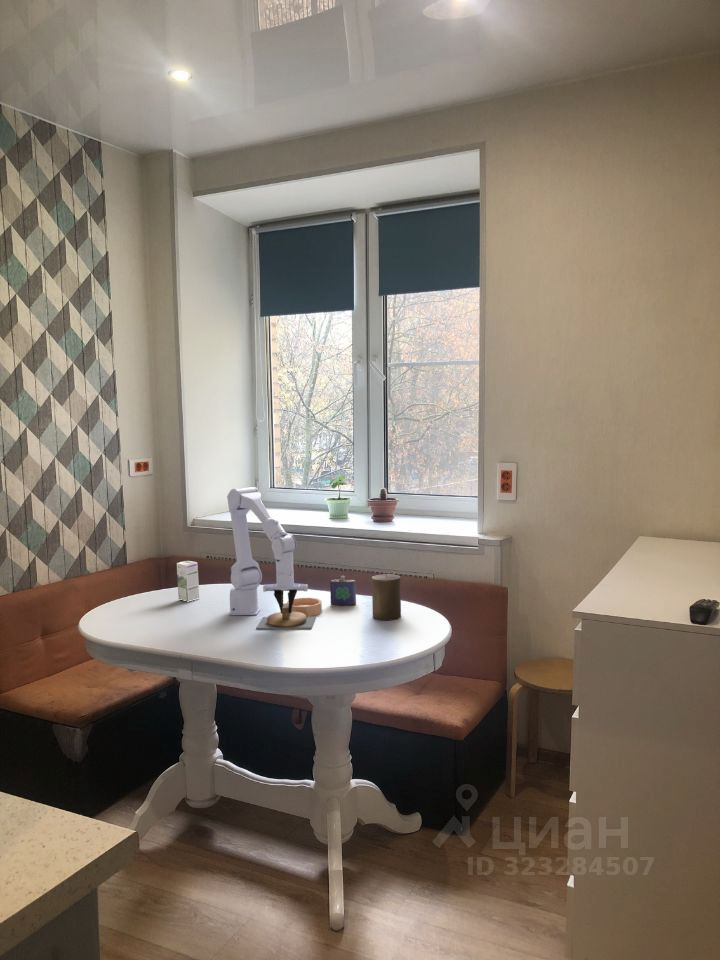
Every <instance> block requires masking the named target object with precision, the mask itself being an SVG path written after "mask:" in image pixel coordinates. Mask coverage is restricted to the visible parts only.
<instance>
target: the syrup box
mask: <svg viewBox="0 0 720 960" xmlns="http://www.w3.org/2000/svg"><path fill="white" fill-rule="evenodd" d="M198 567H199V565H198V562H197V561H191V560H184V561H183V560H182V561H180V562H176V574H177V575H176V576H177V593H178V594H177V595H178V600H179V599H182V600H186V601H189V600H193V599H197V598H199V599H200V588H199V587H200V586H199V570H198V569H199V568H198Z"/></svg>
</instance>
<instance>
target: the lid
mask: <svg viewBox="0 0 720 960" xmlns="http://www.w3.org/2000/svg"><path fill="white" fill-rule="evenodd" d="M283 604H284V605H283V607H282V613H281V611H278V612H275V613H271V614H270V615H268V616H266V617H267V623H268V624H270V625H272V626H278V627H289V626H296V625H300V624H302V623H304V622H305V621H306V615H305V614H303V613H301V612H294V611H292V612H291V613H289V603H287V602H286V603H284V602H283Z"/></svg>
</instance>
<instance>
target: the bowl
mask: <svg viewBox="0 0 720 960" xmlns="http://www.w3.org/2000/svg"><path fill="white" fill-rule="evenodd" d="M322 602H323V601H322V600H321V599H320V598H315V597H297V598H296V597H295V598H294V601H293V605H292V611H294V612H301V613H303V614H305V615H306V617H316V616H317V615H321V613H322V610H323V609H322V607H323V606H322ZM286 603H289V601H288V600H287V601H286Z"/></svg>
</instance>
